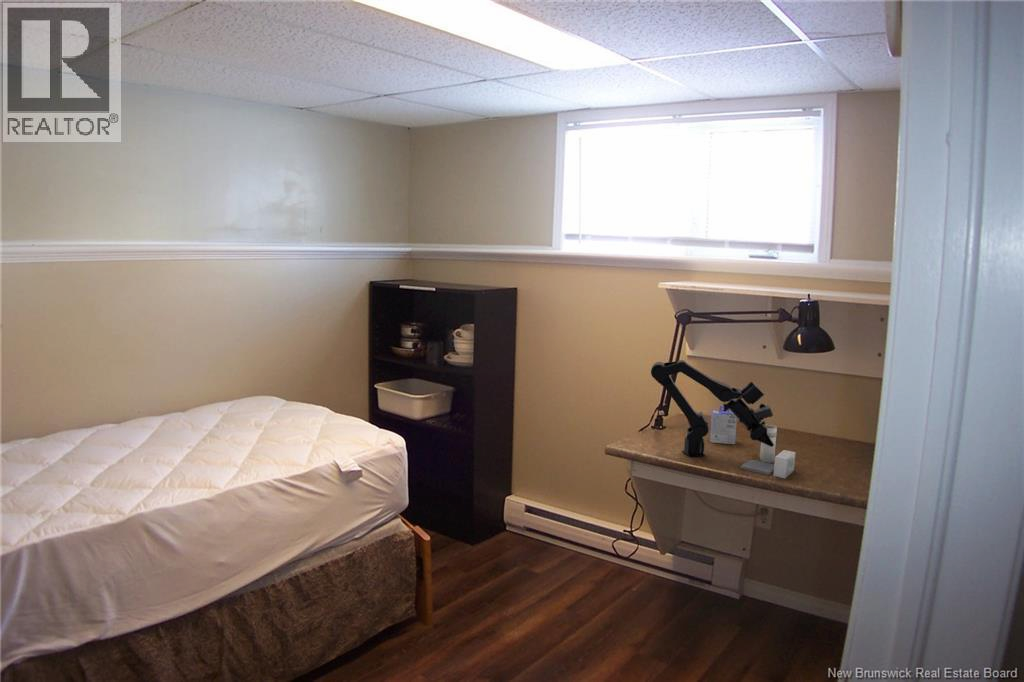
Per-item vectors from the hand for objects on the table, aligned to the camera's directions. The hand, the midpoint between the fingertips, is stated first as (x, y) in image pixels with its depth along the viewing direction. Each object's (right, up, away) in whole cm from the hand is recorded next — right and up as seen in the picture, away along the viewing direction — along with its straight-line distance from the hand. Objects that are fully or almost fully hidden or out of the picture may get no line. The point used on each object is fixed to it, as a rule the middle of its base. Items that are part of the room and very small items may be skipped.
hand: (772, 443), depth 262 cm
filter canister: (-1, -6, +1) cm, 7 cm away
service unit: (-1, -9, -13) cm, 15 cm away
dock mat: (-7, -8, -7) cm, 13 cm away
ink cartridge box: (-11, -3, +24) cm, 27 cm away
